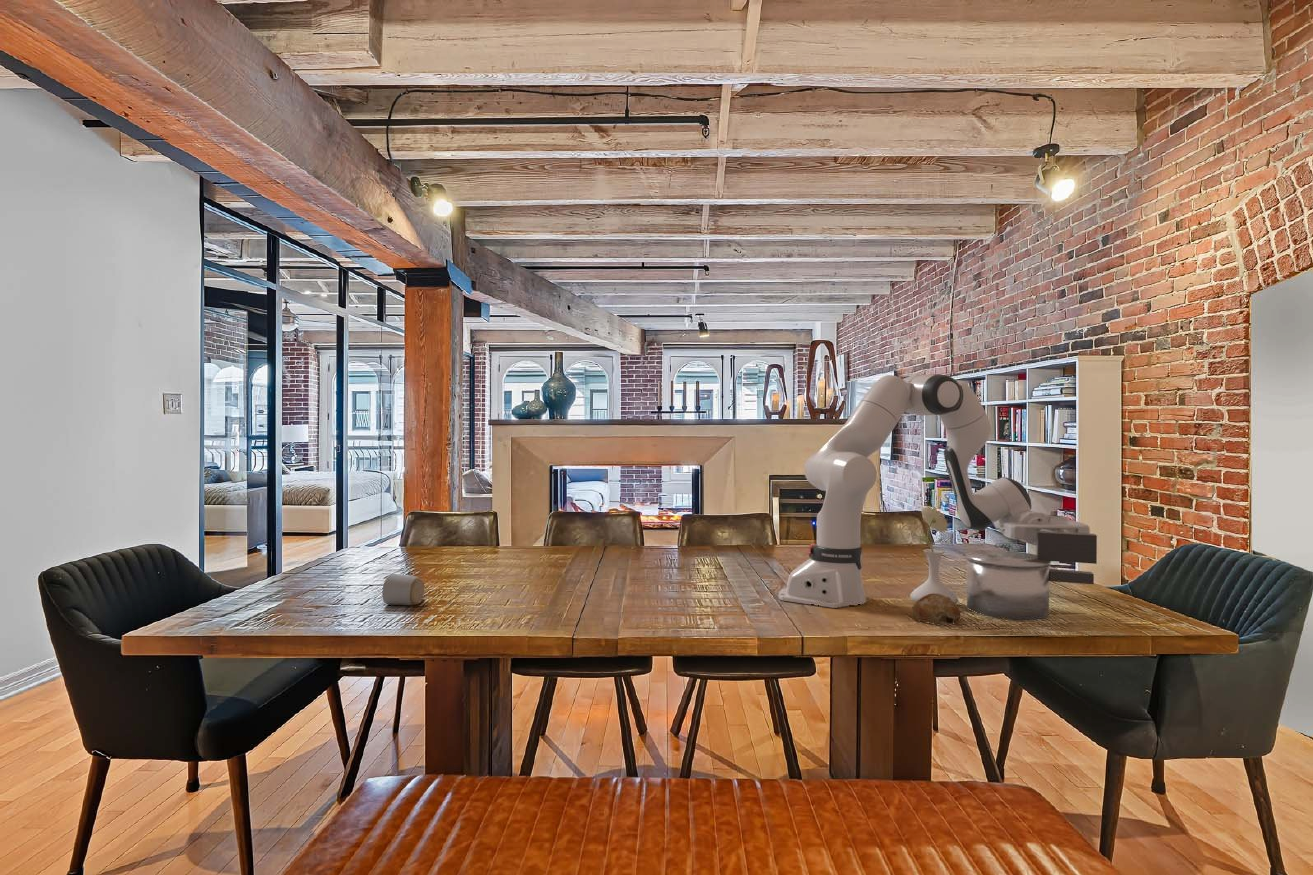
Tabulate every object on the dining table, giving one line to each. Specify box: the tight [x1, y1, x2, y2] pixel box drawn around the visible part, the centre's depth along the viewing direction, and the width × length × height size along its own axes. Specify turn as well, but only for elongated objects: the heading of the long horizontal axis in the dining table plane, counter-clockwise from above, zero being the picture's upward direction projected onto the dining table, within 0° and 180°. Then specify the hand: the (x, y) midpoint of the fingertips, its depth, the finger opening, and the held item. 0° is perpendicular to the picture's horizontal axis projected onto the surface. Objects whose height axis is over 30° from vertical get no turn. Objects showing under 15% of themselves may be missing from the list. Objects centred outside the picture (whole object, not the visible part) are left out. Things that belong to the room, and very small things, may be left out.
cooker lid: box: [965, 531, 1098, 568], centre depth 164 cm, size 28×19×8 cm
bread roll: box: [912, 593, 961, 626], centre depth 157 cm, size 10×10×8 cm
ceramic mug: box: [381, 573, 425, 606], centre depth 172 cm, size 11×8×8 cm
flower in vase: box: [909, 505, 959, 605], centre depth 172 cm, size 13×11×25 cm
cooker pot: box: [966, 559, 1095, 622], centre depth 164 cm, size 27×18×12 cm, turn 68°
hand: (1062, 535), depth 168 cm, fingers closed
